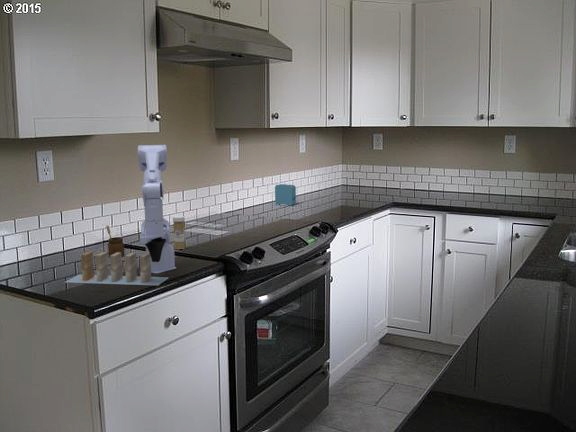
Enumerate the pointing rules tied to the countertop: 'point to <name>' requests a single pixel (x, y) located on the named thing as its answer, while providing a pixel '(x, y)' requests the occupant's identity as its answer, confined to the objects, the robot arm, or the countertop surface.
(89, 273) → the domino
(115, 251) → the utensil holder
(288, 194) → the data package
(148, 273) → the domino
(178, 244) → the sprinkles bottle
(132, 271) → the domino
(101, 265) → the domino
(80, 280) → the mat
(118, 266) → the domino
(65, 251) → the countertop surface
